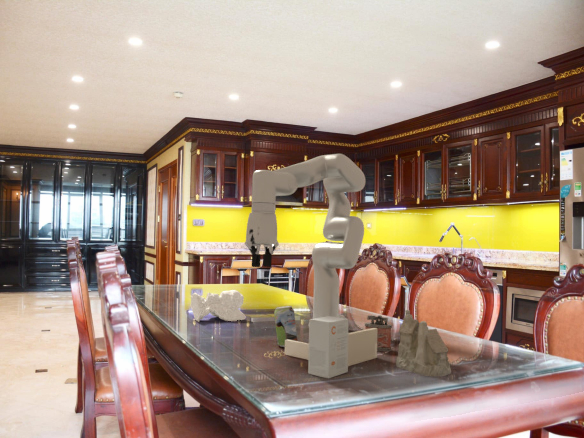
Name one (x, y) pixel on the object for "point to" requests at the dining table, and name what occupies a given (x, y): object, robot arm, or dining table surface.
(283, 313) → the beverage can
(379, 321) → the lighter
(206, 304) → the cherub figurine
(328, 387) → the dining table surface
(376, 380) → the dining table surface
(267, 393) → the dining table surface
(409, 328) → the ceramic cottage
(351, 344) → the box
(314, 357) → the small box
